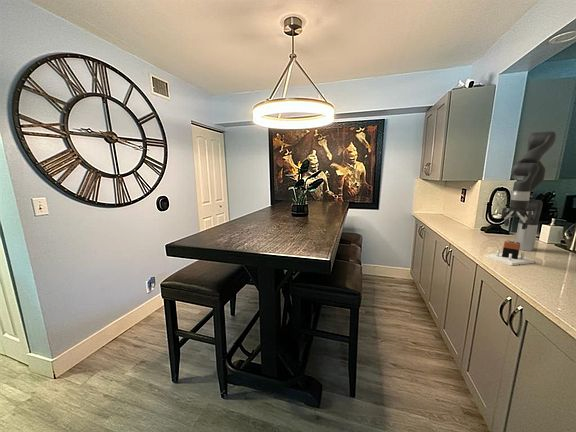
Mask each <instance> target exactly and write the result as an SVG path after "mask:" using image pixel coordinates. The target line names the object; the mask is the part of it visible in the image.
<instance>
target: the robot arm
mask: <svg viewBox="0 0 576 432" xmlns="http://www.w3.org/2000/svg"><path fill="white" fill-rule="evenodd" d="M556 135H557V134H556V132H555V131H538V132H532V133H530V135H529V136H528V140H527V151H526V153H525V154H524V156H523V158H522V159H520V160H518V161H517V162H515V163H514V165H513V166H512V167H511V174H512V175H514V176H516V177H523V178H522V179H520V180H515V181H514V183H513V187H512V192H511V196H510V200H509V208H508V207H503V208H502V210H501V211H502V212H501V216H500V218H502V219H504V221H503V222H504V223H503V225H504V226H505V227H509V225H510V220H511V218H519V219H518V224H517V230H516V234H515V240H514V241H519V242H518V243H520V248H519V251H520V250H521V251H526V252H527V251H528V252H531V251H534V249H535V246H536V245H535V244H536V239H537V233H538V227H539V222H540V221H539V220H540V217H541V214H542V210H543V201H542V200H540V199H531V198H530V197H531V193H532V192H533V191H534V190H535V189H536V188H537V187H538V186H540V185H541V184H542V183H543V182H544V180H545V176H546V167H545V166H544V164H543V163H542V162H541V159H542V158H543V156H544V155H545V154H546V153H547V152H548V151H549V150H550V149H551V148H552V147H553V146H554V144H555V142H556V138H557V137H556Z"/></svg>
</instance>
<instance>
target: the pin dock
mask: <svg viewBox="0 0 576 432" xmlns="http://www.w3.org/2000/svg"><path fill="white" fill-rule="evenodd" d="M485 258H488V259H490V260H493V261H496V262H500V263H503V264H505V265H509V266H511V265H512V266H520V265H526V264H534V263H536V259H533V258H532V259H531V258H529V257H526V256H525V252H521V255H519V254H518V259H512V254H509V258H507V257H502V252H500V250H499V249H497V250H496V253H488V254H485ZM519 264H520V265H519Z"/></svg>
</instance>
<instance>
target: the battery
mask: <svg viewBox="0 0 576 432" xmlns="http://www.w3.org/2000/svg"><path fill="white" fill-rule="evenodd" d="M518 242H519V241H515V240H514V241H511V240H509V239H507V240H504V242H503V247H502V252H501V253H502V257H507V258H509V254H512V259H518V255H519V253H520V249H519V248H520V243H518Z"/></svg>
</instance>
